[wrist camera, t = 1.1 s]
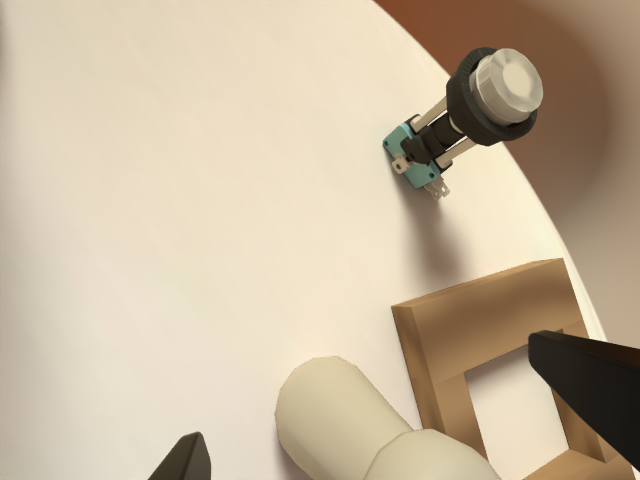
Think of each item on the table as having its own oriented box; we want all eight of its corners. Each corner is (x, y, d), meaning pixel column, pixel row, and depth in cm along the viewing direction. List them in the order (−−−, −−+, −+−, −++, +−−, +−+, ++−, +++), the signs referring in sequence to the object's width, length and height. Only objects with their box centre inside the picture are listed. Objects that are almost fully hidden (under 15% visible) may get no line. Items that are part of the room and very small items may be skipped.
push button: (453, 184, 26) (583, 121, 17) (413, 218, 25) (535, 169, 15) (407, 119, 26) (514, 19, 17) (363, 149, 24) (456, 54, 15)
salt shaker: (355, 348, 21) (545, 413, 9) (357, 442, 20) (575, 657, 8) (269, 353, 19) (361, 440, 7) (265, 456, 18) (368, 762, 6)
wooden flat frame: (609, 498, 26) (648, 518, 23) (471, 608, 21) (504, 648, 18) (533, 261, 28) (562, 257, 25) (391, 306, 23) (411, 307, 20)
